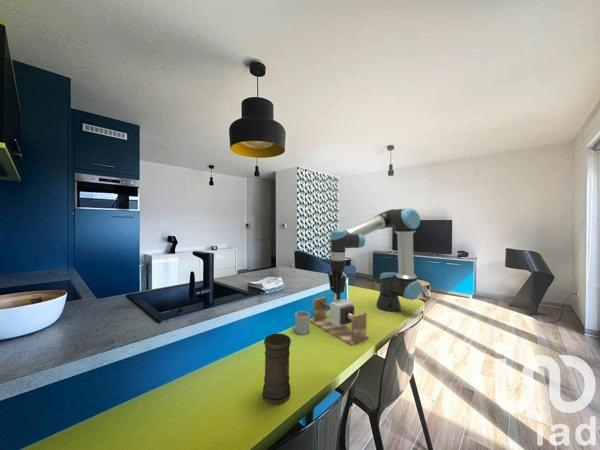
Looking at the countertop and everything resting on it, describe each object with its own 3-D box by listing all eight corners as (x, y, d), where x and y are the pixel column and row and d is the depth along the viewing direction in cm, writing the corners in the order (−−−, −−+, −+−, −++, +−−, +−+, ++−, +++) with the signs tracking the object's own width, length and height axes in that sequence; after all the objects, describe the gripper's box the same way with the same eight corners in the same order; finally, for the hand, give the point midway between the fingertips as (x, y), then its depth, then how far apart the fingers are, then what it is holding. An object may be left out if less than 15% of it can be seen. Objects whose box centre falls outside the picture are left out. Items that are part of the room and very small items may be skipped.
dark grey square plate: (340, 323, 118) (340, 308, 118) (350, 320, 122) (351, 305, 122) (343, 325, 116) (343, 309, 116) (353, 321, 121) (354, 306, 121)
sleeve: (329, 322, 122) (330, 302, 122) (343, 317, 128) (344, 299, 128) (338, 326, 117) (338, 306, 117) (352, 321, 123) (352, 302, 123)
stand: (310, 322, 134) (310, 299, 133) (326, 317, 141) (326, 296, 140) (351, 345, 109) (352, 318, 109) (368, 338, 116) (369, 312, 116)
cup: (299, 335, 118) (299, 317, 117) (290, 327, 126) (290, 310, 126) (312, 333, 121) (312, 315, 121) (302, 325, 130) (302, 308, 130)
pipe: (318, 305, 135) (318, 300, 135) (321, 304, 137) (322, 299, 137) (356, 323, 113) (357, 317, 113) (361, 322, 114) (361, 316, 114)
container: (266, 408, 72) (268, 348, 71) (259, 389, 80) (260, 335, 80) (294, 400, 75) (296, 343, 75) (284, 382, 83) (286, 330, 83)
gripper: (323, 258, 128) (322, 302, 129) (341, 262, 118) (340, 310, 118) (334, 257, 133) (333, 300, 133) (352, 261, 122) (350, 307, 122)
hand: (336, 305), depth 126 cm, fingers closed
